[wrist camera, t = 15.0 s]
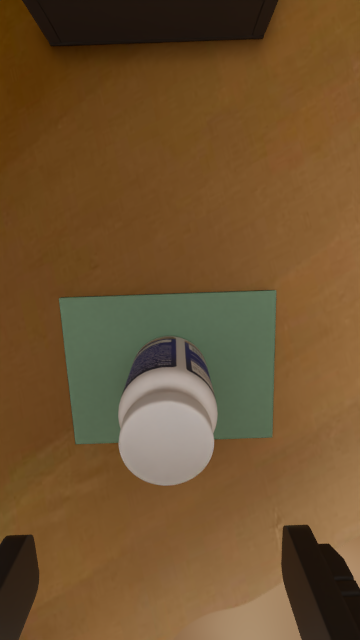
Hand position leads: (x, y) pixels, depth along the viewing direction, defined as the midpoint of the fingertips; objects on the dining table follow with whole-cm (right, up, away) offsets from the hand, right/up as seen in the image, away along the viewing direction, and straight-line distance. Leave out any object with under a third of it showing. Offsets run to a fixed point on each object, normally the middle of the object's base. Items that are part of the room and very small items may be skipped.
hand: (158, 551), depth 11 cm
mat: (0, +3, +16) cm, 16 cm away
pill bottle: (0, +4, +15) cm, 16 cm away
